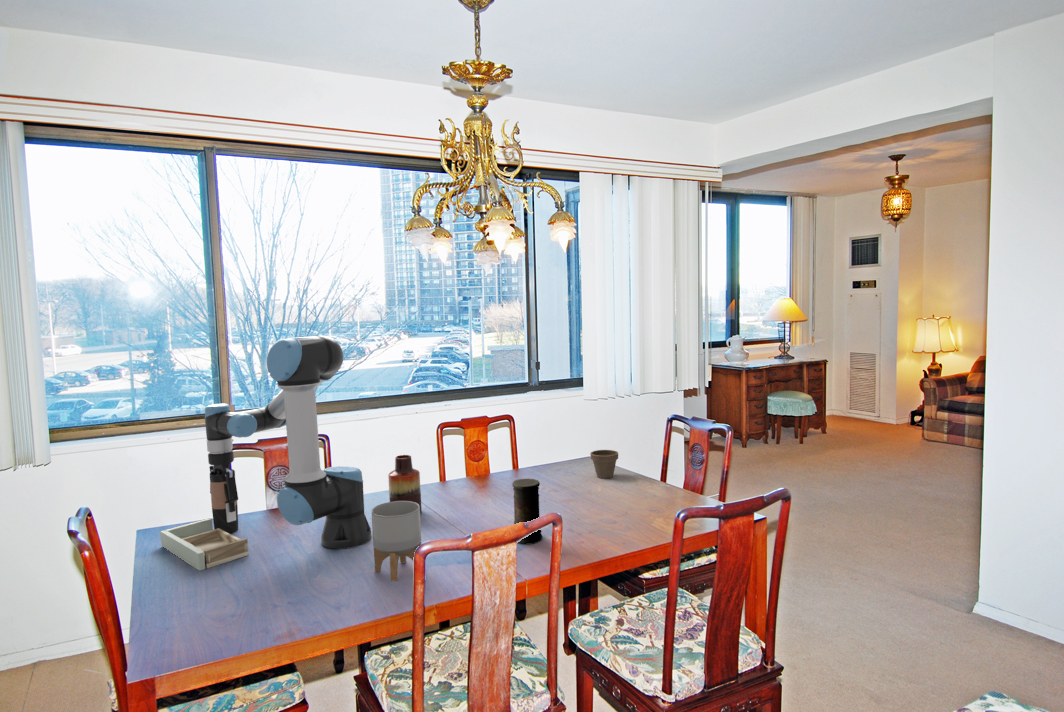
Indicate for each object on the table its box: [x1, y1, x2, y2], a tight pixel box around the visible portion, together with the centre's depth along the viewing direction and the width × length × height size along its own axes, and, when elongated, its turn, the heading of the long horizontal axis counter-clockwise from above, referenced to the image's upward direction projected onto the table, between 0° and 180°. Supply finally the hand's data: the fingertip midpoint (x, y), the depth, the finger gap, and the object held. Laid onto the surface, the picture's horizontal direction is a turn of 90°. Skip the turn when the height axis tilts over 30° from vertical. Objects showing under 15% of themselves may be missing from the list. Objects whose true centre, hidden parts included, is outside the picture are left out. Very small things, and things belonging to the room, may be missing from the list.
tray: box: [182, 528, 249, 569], centre depth 195 cm, size 20×12×5 cm, turn 49°
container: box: [511, 478, 543, 545], centre depth 199 cm, size 9×9×18 cm
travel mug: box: [209, 468, 239, 534], centre depth 214 cm, size 8×8×20 cm
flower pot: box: [590, 449, 619, 479], centre depth 265 cm, size 12×11×10 cm
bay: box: [159, 517, 214, 572], centre depth 198 cm, size 29×15×5 cm, turn 49°
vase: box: [387, 454, 422, 515], centre depth 226 cm, size 11×11×20 cm
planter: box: [371, 501, 422, 582], centre depth 178 cm, size 13×13×18 cm
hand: (225, 518), depth 214 cm, fingers open, 8 cm apart
